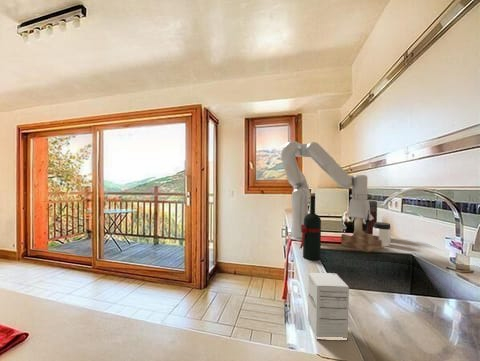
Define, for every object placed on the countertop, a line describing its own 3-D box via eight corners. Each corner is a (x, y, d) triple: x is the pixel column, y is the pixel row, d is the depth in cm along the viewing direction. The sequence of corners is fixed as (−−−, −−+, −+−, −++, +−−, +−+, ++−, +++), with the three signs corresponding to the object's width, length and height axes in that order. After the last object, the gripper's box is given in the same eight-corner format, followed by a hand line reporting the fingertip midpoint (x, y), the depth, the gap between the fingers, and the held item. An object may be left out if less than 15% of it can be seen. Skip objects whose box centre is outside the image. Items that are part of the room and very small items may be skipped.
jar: (387, 247, 125) (388, 225, 125) (371, 244, 131) (371, 223, 131) (391, 244, 131) (392, 223, 131) (375, 241, 137) (376, 221, 137)
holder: (341, 244, 129) (341, 234, 129) (354, 241, 137) (354, 231, 137) (369, 252, 117) (369, 240, 116) (381, 247, 125) (381, 236, 125)
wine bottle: (295, 256, 109) (296, 192, 108) (313, 254, 112) (314, 192, 112) (304, 262, 101) (306, 193, 101) (324, 259, 104) (325, 193, 104)
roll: (352, 233, 128) (352, 213, 128) (357, 232, 131) (357, 212, 131) (361, 235, 124) (361, 214, 124) (366, 234, 127) (366, 213, 127)
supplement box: (307, 320, 59) (307, 271, 59) (336, 321, 59) (337, 272, 59) (315, 340, 52) (316, 285, 52) (348, 342, 52) (350, 286, 52)
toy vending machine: (351, 236, 150) (352, 193, 150) (364, 234, 154) (365, 192, 154) (364, 239, 142) (365, 194, 141) (376, 237, 146) (377, 193, 146)
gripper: (341, 196, 132) (341, 228, 132) (372, 198, 119) (372, 233, 119) (348, 196, 137) (348, 226, 137) (379, 197, 123) (378, 231, 123)
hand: (359, 229), depth 128 cm, fingers closed on roll, 5 cm apart
